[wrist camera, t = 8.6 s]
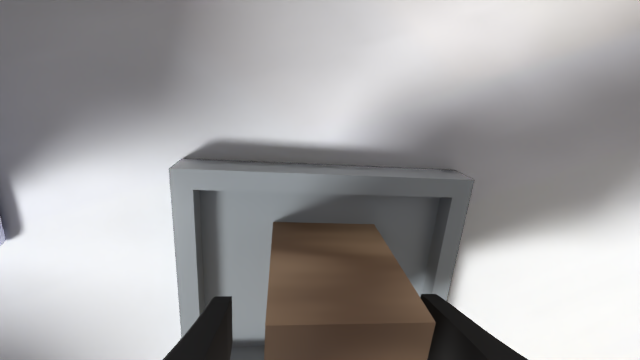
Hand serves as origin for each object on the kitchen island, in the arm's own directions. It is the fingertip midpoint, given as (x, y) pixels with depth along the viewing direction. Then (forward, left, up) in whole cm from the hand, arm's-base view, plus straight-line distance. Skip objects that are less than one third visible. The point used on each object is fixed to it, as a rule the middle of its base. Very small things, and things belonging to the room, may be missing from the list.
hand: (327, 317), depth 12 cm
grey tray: (0, 0, -3) cm, 3 cm away
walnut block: (0, 0, -3) cm, 3 cm away
